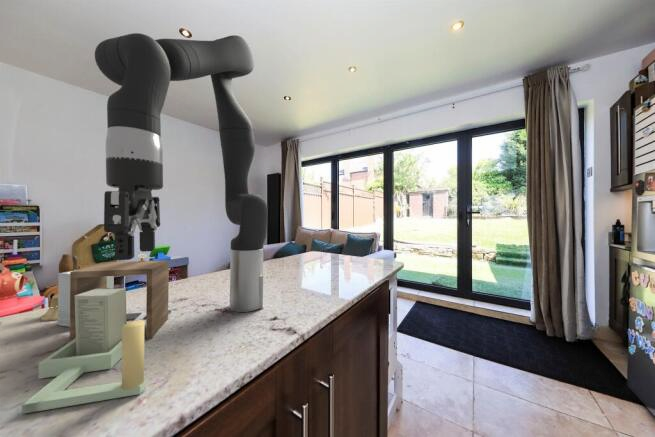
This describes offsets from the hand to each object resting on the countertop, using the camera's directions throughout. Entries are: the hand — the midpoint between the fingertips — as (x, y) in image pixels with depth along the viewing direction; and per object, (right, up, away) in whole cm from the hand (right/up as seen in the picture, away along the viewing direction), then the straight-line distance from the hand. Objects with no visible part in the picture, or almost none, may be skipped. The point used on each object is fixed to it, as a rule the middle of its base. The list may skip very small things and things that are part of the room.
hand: (137, 254), depth 41 cm
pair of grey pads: (-16, -20, +22) cm, 33 cm away
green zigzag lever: (-6, -20, 0) cm, 21 cm away
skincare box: (-11, -20, +5) cm, 23 cm away
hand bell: (-37, -20, +22) cm, 47 cm away
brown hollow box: (-14, -20, +13) cm, 27 cm away
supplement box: (-28, -20, +19) cm, 39 cm away
